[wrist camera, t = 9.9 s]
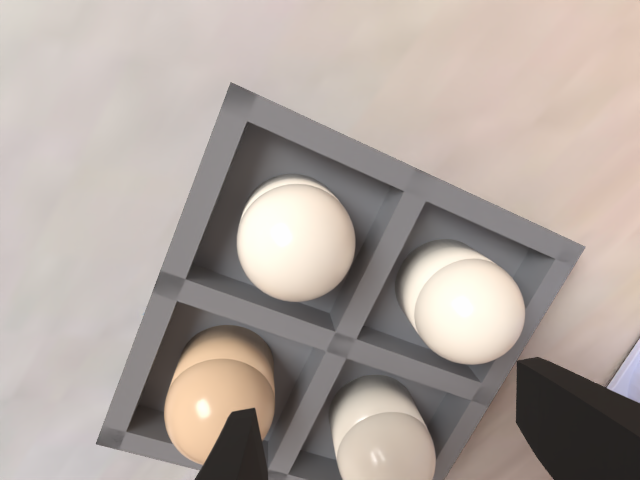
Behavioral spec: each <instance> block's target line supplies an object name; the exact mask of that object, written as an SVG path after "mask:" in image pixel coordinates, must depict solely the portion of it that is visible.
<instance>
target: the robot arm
mask: <svg viewBox="0 0 640 480" xmlns="http://www.w3.org/2000/svg"><path fill="white" fill-rule="evenodd" d="M516 423H517V425H518V427H519V428H520V430H521V432H522V434H523V435H524V437H525V439H526V440H527V442H528V444H529V445H530V447H531V449H532V450H533V452H534V453H535V455H536V457H537V458H538V459H539V461H540V462H541V463H542V465H543V466H544V467H545V469H546V470H547V471H548V473H549V474H550V475H551V477H552V478H553V479H554V480H640V339H639V340H638V342H637V343H636V345H635V346H634V348H633V349H632V351H631V352H630V354H629V355H628V356H627V358H626V359H625V361H624V362H623V364H622V365H621V367H620V368H619V370H618V371H617V373H616V374H615V376H614V377H613V379H612V380H611V382H610V383H609V385H608V386H607V388H605V387H603V386H601V385H599V384H597V383H594V382H592V381H590V380H588V379H586V378H584V377H582V376H580V375H577V374H575V373H573V372H571V371H569V370H567V369H565V368H563V367H560V366H558V365H556V364H554V363H551V362H549V361H547V360H544V359H542V358H539V357H535V358H530V359H524V360H519V361H517V393H516ZM195 480H268V468H267V463H266V459H265V454H264V449H263V444H262V439H261V434H260V429H259V424H258V419H257V414H256V409H255V408H249V409H244V410H238V411H233V412H231V414H230V415H229V416H228V418H227V420H226V423H225V425H224V427H223V429H222V431H221V433H220V435H219V437H218V439H217V441H216V443H215V444H214V446H213V448H212V450H211V452H210V454H209V456H208V457H207V459H206V461H205V463H204V464H203V466H202V468H201V470H200V471H199V473H198V475H197V477H196V478H195Z"/></svg>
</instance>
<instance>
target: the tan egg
mask: <svg viewBox="0 0 640 480" xmlns="http://www.w3.org/2000/svg"><path fill="white" fill-rule="evenodd" d="M249 408H255V409H256V414H257V419H258V424H259V429H260V434H261V439H262V441H263V440H264V438H265V437H266V435H267V433H268V431H269V429H270V427H271V424H272V421H273V417H274V410H275V387H274V360H273V356H272V353H271V350H270V348H269V346H268V345H267V343H266V342H265V341H264V340H263V339H262V338H261V337H260V336H259V335H257V334H256V333H254V332H253V331H251V330H249V329H246V328H244V327H240V326H235V325H219V326H214V327H211V328H208V329H205V330H203V331H201V332H200V333H198V334H196V335H195V336H194V337H193V338H191V340H190V341H189V342H188V343H187V344H186V346H185V347H184V349H183V351H182V353H181V356H180V359H179V361H178V364H177V367H176V370H175V373H174V376H173V379H172V381H171V384H170V387H169V390H168V393H167V396H166V400H165V406H164V420H165V426H166V430H167V433H168V435H169V438H170V440H171V441H172V443H173V445H174V446H175V447H176V449H177V450H178V451H179V452H180V453H181V454H182V455H184V456H185V457H186V458H188V459H189V460H191V461H193V462H195V463H198V464H201V465H203V464H204V463H205V461H206V459H207V457H208V456H209V454H210V452H211V450H212V448H213V446H214V444H215V443H216V441H217V439H218V437H219V435H220V433H221V431H222V429H223V427H224V425H225V423H226V420H227V418H228V416H229V415H230V414H231V412H233V411H238V410H244V409H249Z"/></svg>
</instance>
